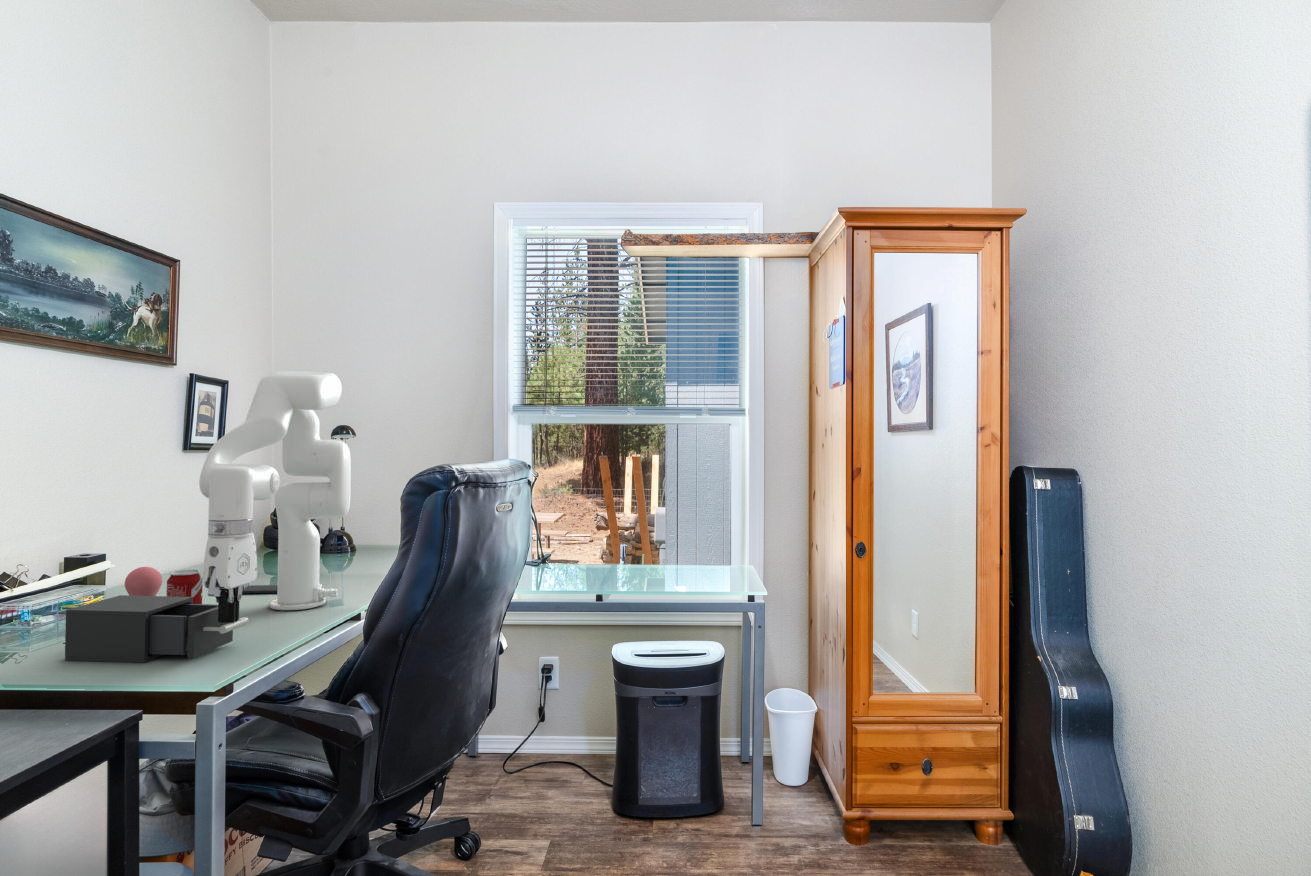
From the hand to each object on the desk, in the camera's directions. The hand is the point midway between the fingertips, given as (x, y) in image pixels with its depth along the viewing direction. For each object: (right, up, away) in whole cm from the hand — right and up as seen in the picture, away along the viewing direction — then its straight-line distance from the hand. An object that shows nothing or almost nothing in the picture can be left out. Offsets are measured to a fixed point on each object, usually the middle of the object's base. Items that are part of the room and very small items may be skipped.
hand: (228, 621), depth 135 cm
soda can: (-23, -7, +21) cm, 32 cm away
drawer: (-8, -5, 0) cm, 10 cm away
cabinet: (-20, -6, +1) cm, 21 cm away
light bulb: (-36, -6, +26) cm, 45 cm away
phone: (-25, -7, +56) cm, 62 cm away
